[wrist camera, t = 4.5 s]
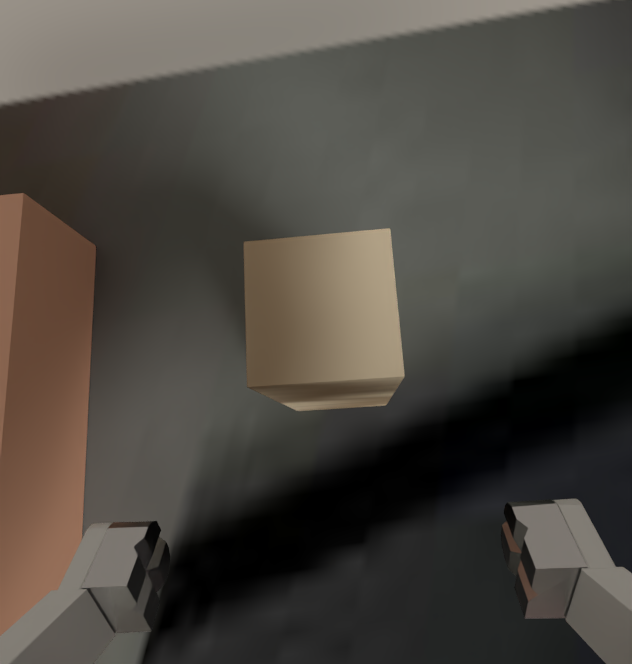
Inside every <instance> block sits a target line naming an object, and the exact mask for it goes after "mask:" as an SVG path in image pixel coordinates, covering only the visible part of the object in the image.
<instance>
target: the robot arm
mask: <svg viewBox="0 0 632 664" xmlns="http://www.w3.org/2000/svg"><path fill="white" fill-rule="evenodd" d="M504 514H505V517H506V520H507V522H505V523H504V524H503V525H502V530H501V542H502V549H503V554H504V558H505V561H506V564H507V567H508V569H509V570H510V571H511V572H512V573H514V574H515V575H516V582H515V587H514V588H515V591H516V594H517V597H518V600H519V603H520V606H521V609H522V612H523V615H524V618H566V621H567V622H568V624H569V625H570V626H571V627H572V628H573V629H574V630H575V631H576V632H577V633H578V634H579V635H580V636H581V637H582V638H583V640H584V641H585V642H586V643H587V644H588V645H589V646H590V647H591V648H592V649H593V650H594V651H595V652H596V653H597V654H598V655H599V657H600V658H601V659H602V660H603V661H604V662H605V663H606V664H632V573H630V572H629V571H628V570H627V569H625V568H624V567H616V566H615V564H614V562H613V561H612V559H611V557H610V555H609V553H608V551H607V550H606V548H605V546H604V544H603V542H602V540H601V539H600V537H599V535H598V533H597V531H596V529H595V527H594V526H593V524H592V522H591V520H590V518H589V516H588V515H587V513H586V511H585V509H584V507H583V505H582V503H581V502H580V501H578V500H577V499H562V500H536V501H521V502H507V504H506V505H505V509H504ZM160 531H161V529H160V527H159V525H158V523H157V521H146V522H110V523H93V524H92V525H91V526H90V527H89V528H88V529H87V530H86V532H85V534H84V536H83V538H82V540H81V542H80V545H79V547H78V549H77V551H76V553H75V555H74V557H73V559H72V561H71V563H70V565H69V567H68V569H67V571H66V573H65V576H64V578H63V580H62V582H61V584H60V586H59V588H58V590H51V591H50V592H49V593H48V594H47V595H46V596H45V597H43V598H42V599H41V600H40V601H39V602H38V603H37V604H36V605H35V606H33V607H32V608H31V609H30V610H29V611H28V612H27V613H26V614H24V615H23V616H22V617H21V618H20V619H19V620H18V621H17V622H16V623H14V624H13V625H12V626H11V627H10V628H9V629H8V630H7V631H5V632H4V633H3V634H2V635H1V636H0V664H93V663H94V662H95V661H96V660H97V658H98V657H99V656H100V655H101V653H102V652H103V651H104V650H105V648H106V647H107V646H108V645H109V643H110V642H111V641H112V640H113V638H114V637H115V633H129V632H145V631H152V627H153V624H154V621H155V617H156V614H157V610H158V607H159V604H160V600H159V598H158V595H157V593H156V592H157V591H158V590H159V589H160V588H161V587H162V586H163V585H164V584H165V583H166V579H167V576H168V572H169V564H170V553H169V547H168V545H167V543H166V541H164V540H163V539H161V538H160V537H159V534H160Z"/></svg>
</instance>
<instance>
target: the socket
mask: <svg viewBox="0 0 632 664" xmlns="http://www.w3.org/2000/svg"><path fill="white" fill-rule="evenodd" d="M95 260H96V246H95V245H94V244H93V243H91V242H90V241H88V240H87V239H86V238H84V237H83V236H82V235H80V234H79V233H78V232H76V231H75V230H73V229H72V228H71V227H69V226H68V225H67V224H65V223H64V222H63V221H61V220H60V219H58V218H57V217H56V216H54V215H53V214H52V213H50V212H49V211H48V210H46V209H45V208H43V207H42V206H41V205H39V204H38V203H37V202H35V201H34V200H33V199H31V198H30V197H28V196H27V195H26V194H24V193H18V194H8V195H0V636H1V635H2V634H3V633H4V632H5V631H7V630H8V629H9V628H10V627H11V626H12V625H13V624H14V623H16V622H17V621H18V620H19V619H20V618H21V617H22V616H23V615H24V614H26V613H27V612H28V611H29V610H30V609H31V608H32V607H33V606H35V605H36V604H37V603H38V602H39V601H40V600H41V599H42V598H43V597H45V596H46V595H47V594H48V593H49V592H50V591H51V590H58V588H59V586H60V584H61V582H62V580H63V578H64V576H65V573H66V571H67V569H68V567H69V565H70V563H71V561H72V559H73V557H74V555H75V553H76V551H77V549H78V547H79V545H80V542H81V540H82V526H83V505H84V485H85V465H86V444H87V424H88V403H89V383H90V363H91V342H92V322H93V301H94V281H95Z"/></svg>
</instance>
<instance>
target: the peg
mask: <svg viewBox="0 0 632 664" xmlns="http://www.w3.org/2000/svg"><path fill="white" fill-rule="evenodd" d="M244 279H245V320H246V361H247V387H248V388H250V389H252V390H254V391H256V392H259V393H261V394H263V395H265V396H267V397H269V398H271V399H273V400H275V401H278V402H280V403H282V404H284V405H286V406H288V407H290V408H292V409H294V410H297V411H307V410H322V409H338V408H354V407H370V406H385V405H387V403H388V401H389V400H390V398H391V397H392V395H393V394H394V392H395V391H396V389H397V387H398V386H399V384H400V383H401V381H402V380H403V378H404V377H405V376H404V365H403V355H402V345H401V335H400V325H399V314H398V304H397V294H396V284H395V273H394V263H393V253H392V243H391V233H390V228H388V229H377V230H366V231H355V232H344V233H334V234H323V235H312V236H301V237H290V238H279V239H268V240H257V241H246V242H244Z"/></svg>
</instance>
